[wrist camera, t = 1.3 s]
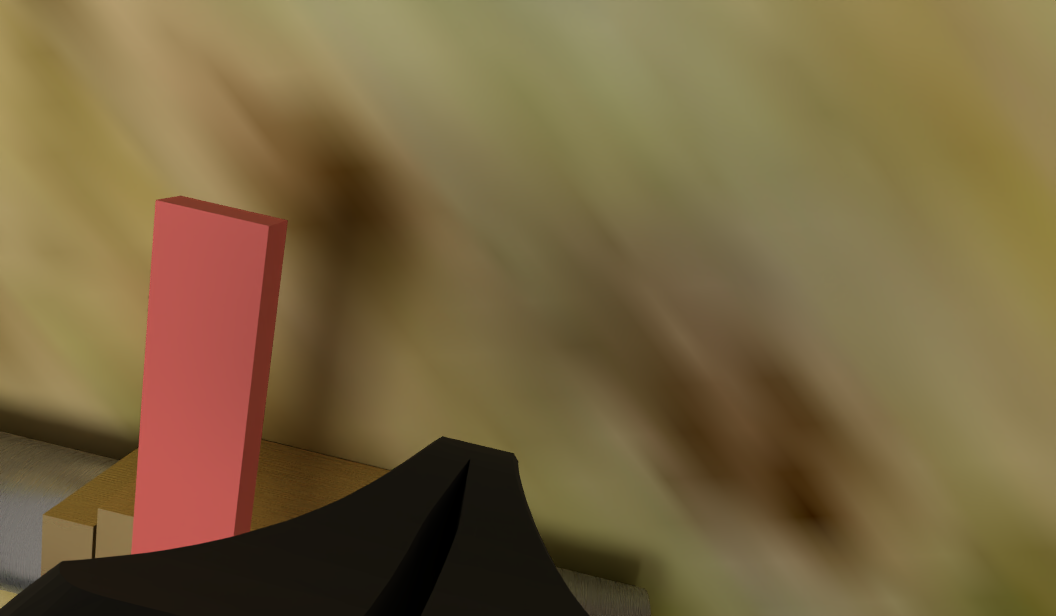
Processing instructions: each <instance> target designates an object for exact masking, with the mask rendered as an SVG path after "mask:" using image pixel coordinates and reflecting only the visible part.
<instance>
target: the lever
mask: <svg viewBox="0 0 1056 616" xmlns="http://www.w3.org/2000/svg"><path fill="white" fill-rule="evenodd" d="M287 223H288V220H284V219H280V218H275V217H271V216H267V215H262V214H258V213H254V212H249V211H245V210H241V209H236V208H232V207H228V206H223V205H219V204H214V203H210V202H206V201H201V200H197V199H193V198H188V197H184V196H177V197H171V198H165V199H159V200H156V204H155V219H154V233H153V248H152V262H151V276H150V291H149V305H148V319H147V334H146V348H145V363H144V377H143V391H142V406H141V420H140V434H139V449H138V463H137V478H136V492H135V506H134V521H133V535H132V549H131V554H140V553H148V552H155V551H162V550H168V549H174V548H179V547H185V546H190V545H196V544H201V543H206V542H210V541H215V540H219V539H224V538H228V537H232V536H236V535H240V534H243V533H246V532H250V528H251V519H252V511H253V503H254V495H255V486H256V478H257V470H258V462H259V454H260V445H261V437H262V429H263V421H264V412H265V404H266V396H267V388H268V379H269V371H270V363H271V355H272V346H273V338H274V330H275V322H276V313H277V305H278V297H279V289H280V280H281V272H282V264H283V256H284V247H285V239H286V231H287Z"/></svg>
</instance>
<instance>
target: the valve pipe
mask: <svg viewBox="0 0 1056 616" xmlns="http://www.w3.org/2000/svg"><path fill="white" fill-rule="evenodd" d="M138 449H139V447H138V448H137V449H135V450H134V451H133V452H131V453H130V454H128V455H127V456H125V457H124V458H123V459H121V460H116V459H112V458H108V457H104V456H100V455H96V454H92V453H88V452H83V451H79V450H75V449H71V448H67V447H63V446H59V445H55V444H51V443H47V442H42V441H38V440H34V439H30V438H26V437H22V436H18V435H14V434H10V433H6V432H2V431H0V589H1V590H5V591H9V592H12V593H16V594H19V593H20V592H21V591H23V590H24V589H25V588H27V587H28V586H29V585H30V584H32V583H33V582H34V581H36V580H37V579H38V578H40V577H41V576H42V575H44V574H45V573H46V572H48V571H49V570H50V569H52V568H53V567H54V566H56V565H57V564H59V563H60V562H61V561H69V560H83V559H92V558H102V557H111V556H121V555H130V554H131V549H132V535H133V521H134V506H135V492H136V478H137V463H138ZM388 472H389V470H385V469H381V468H377V467H373V466H369V465H365V464H360V463H356V462H352V461H348V460H344V459H340V458H336V457H332V456H327V455H323V454H319V453H315V452H311V451H307V450H303V449H298V448H294V447H290V446H286V445H282V444H278V443H274V442H269V441H265V440H261V445H260V454H259V462H258V470H257V478H256V486H255V495H254V503H253V511H252V519H251V528H250V531H253V530H257V529H260V528H263V527H267V526H270V525H274V524H277V523H280V522H284V521H287V520H290V519H293V518H295V517H298V516H301V515H303V514H306V513H308V512H311V511H313V510H316V509H319V508H321V507H323V506H326V505H328V504H330V503H333V502H335V501H337V500H339V499H341V498H343V497H345V496H347V495H349V494H351V493H353V492H355V491H357V490H358V489H360V488H362V487H364V486H366V485H368V484H370V483H371V482H373V481H375V480H377V479H378V478H380V477H381V476H383V475H385V474H386V473H388ZM556 568H557V570H558V572H559V573H560V575H561V577H562V578H563V580H564V581H565V583H566V585H567V586H568V588H569V589H570V591H571V592H572V594H573V595H574V596H575V598H576V599H577V600H578V602H579V603H580V604H581V606H582V607H583V608H584V609H585V611H586V612H587V613H588V614H589V615H590V616H651V612H650V602H649V596H648V593H647V591H646V590H645V589H644V588H640V587H636V586H632V585H628V584H624V583H620V582H615V581H611V580H607V579H603V578H599V577H595V576H591V575H587V574H583V573H579V572H575V571H570V570H566V569H562V568H558V567H556Z"/></svg>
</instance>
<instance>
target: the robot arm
mask: <svg viewBox="0 0 1056 616" xmlns="http://www.w3.org/2000/svg"><path fill="white" fill-rule="evenodd" d="M0 616H590V615H589V614H588V613H587V612H586V611H585V609H584V608H583V607H582V606H581V604H580V603H579V602H578V600H577V599H576V598H575V596H574V595H573V594H572V592H571V591H570V589H569V588H568V586H567V585H566V583H565V581H564V580H563V578H562V577H561V575H560V573H559V572H558V570H557V568H556V566H555V565H554V563H553V561H552V559H551V557H550V555H549V553H548V551H547V549H546V547H545V545H544V543H543V541H542V539H541V537H540V534H539V532H538V530H537V527H536V525H535V522H534V520H533V517H532V514H531V512H530V509H529V506H528V504H527V501H526V498H525V494H524V491H523V487H522V484H521V479H520V475H519V468H518V460H517V458H516V457H515V455H514V453H510V452H506V451H501V450H497V449H493V448H489V447H485V446H481V445H476V444H472V443H468V442H464V441H460V440H455V439H451V438H447V437H443V436H442V437H441V438H439V439H437V440H436V441H434V442H432V443H431V444H430V445H428V446H427V447H425V448H424V449H422V450H421V451H420V452H418V453H417V454H415V455H414V456H412V457H411V458H409V459H408V460H406V461H405V462H404V463H402V464H400V465H399V466H397V467H396V468H394V469H393V470H391V471H389V472H388V473H386V474H385V475H383V476H381V477H380V478H378V479H377V480H375V481H373V482H371V483H370V484H368V485H366V486H364V487H362V488H360V489H358V490H357V491H355V492H353V493H351V494H349V495H347V496H345V497H343V498H341V499H339V500H337V501H335V502H333V503H330V504H328V505H326V506H323V507H321V508H319V509H316V510H313V511H311V512H308V513H306V514H303V515H301V516H298V517H295V518H293V519H290V520H287V521H284V522H280V523H277V524H274V525H270V526H267V527H263V528H260V529H257V530H253V531H250V532H246V533H243V534H240V535H236V536H232V537H228V538H224V539H219V540H215V541H210V542H206V543H201V544H196V545H190V546H185V547H179V548H174V549H168V550H162V551H155V552H148V553H140V554H130V555H121V556H111V557H102V558H92V559H83V560H69V561H61V562H60V563H59V564H57V565H56V566H54V567H53V568H52V569H50V570H49V571H48V572H46V573H45V574H44V575H42V576H41V577H40V578H38V579H37V580H36V581H34V582H33V583H32V584H30V585H29V586H28V587H27V588H25V589H24V590H23V591H21V592H20V593H19V594H18V595H17V596H15V597H14V598H13V599H12V600H11V601H9V602H8V603H7V604H6V605H4V606H3V607H2V608H1V609H0Z"/></svg>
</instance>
